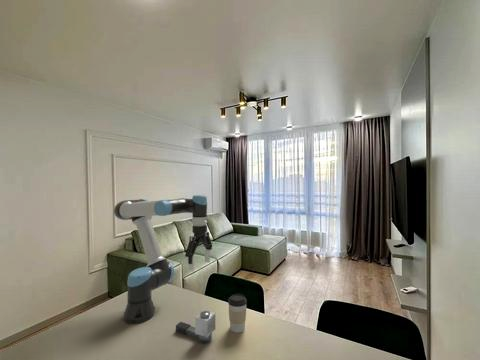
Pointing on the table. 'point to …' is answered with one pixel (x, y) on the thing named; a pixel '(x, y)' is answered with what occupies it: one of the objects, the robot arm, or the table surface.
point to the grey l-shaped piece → (192, 332)
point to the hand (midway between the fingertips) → (199, 265)
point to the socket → (205, 323)
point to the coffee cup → (237, 312)
